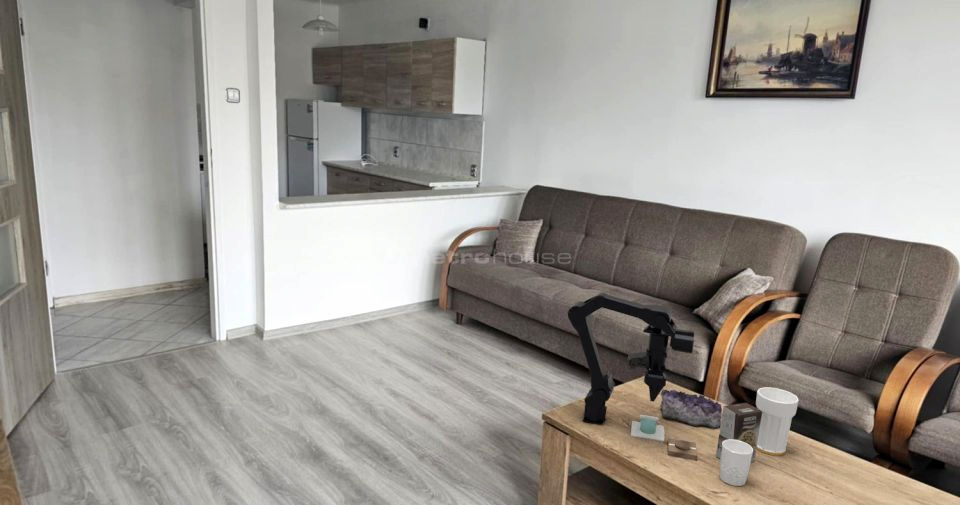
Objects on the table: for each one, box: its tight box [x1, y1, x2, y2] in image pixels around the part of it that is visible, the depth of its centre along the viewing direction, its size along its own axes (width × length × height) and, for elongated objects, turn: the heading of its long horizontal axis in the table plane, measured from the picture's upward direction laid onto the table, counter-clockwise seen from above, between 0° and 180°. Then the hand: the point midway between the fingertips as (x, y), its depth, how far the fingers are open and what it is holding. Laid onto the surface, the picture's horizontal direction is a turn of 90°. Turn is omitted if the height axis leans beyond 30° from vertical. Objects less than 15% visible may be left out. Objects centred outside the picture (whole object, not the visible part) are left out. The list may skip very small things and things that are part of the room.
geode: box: [659, 389, 723, 430], centre depth 208 cm, size 20×12×10 cm, turn 64°
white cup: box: [719, 439, 753, 487], centre depth 173 cm, size 8×8×10 cm
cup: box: [755, 386, 800, 457], centre depth 190 cm, size 11×11×17 cm
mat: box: [630, 420, 665, 443], centre depth 198 cm, size 10×10×1 cm
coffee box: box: [715, 402, 762, 463], centre depth 183 cm, size 9×6×16 cm
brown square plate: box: [667, 437, 698, 461], centre depth 187 cm, size 8×8×2 cm
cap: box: [639, 414, 660, 434], centre depth 198 cm, size 6×5×5 cm
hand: (652, 395), depth 196 cm, fingers open, 9 cm apart
